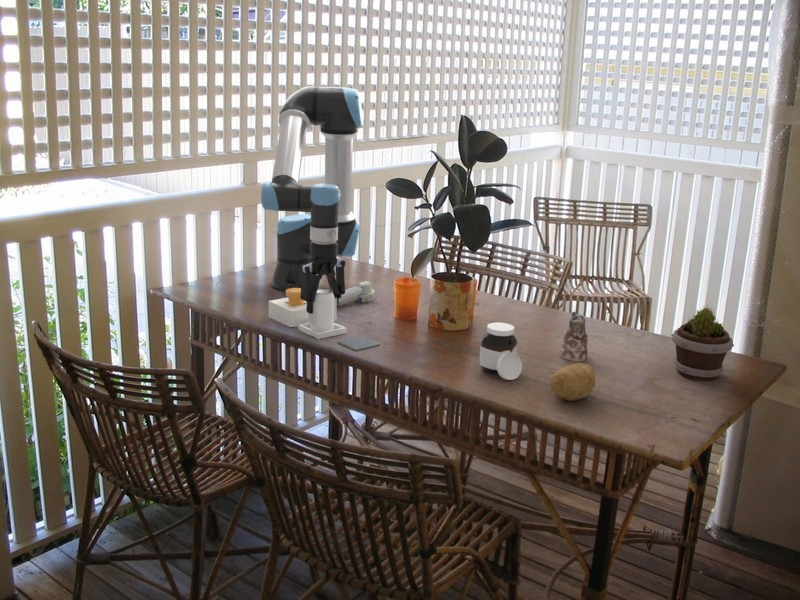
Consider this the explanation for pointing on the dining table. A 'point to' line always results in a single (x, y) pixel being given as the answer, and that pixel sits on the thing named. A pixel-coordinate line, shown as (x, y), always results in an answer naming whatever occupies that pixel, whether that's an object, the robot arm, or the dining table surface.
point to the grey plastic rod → (359, 293)
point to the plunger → (294, 296)
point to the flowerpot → (701, 346)
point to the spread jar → (500, 351)
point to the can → (324, 310)
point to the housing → (298, 318)
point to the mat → (358, 343)
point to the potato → (573, 381)
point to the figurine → (575, 340)
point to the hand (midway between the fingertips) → (322, 321)
